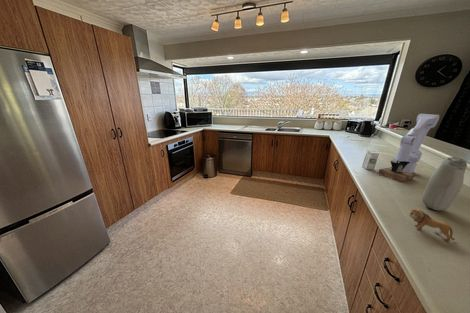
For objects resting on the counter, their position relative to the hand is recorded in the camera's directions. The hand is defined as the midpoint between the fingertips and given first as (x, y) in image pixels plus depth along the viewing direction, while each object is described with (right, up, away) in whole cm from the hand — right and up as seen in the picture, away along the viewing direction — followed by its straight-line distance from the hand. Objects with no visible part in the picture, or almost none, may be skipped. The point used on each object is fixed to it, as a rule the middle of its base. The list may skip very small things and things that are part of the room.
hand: (396, 170), depth 123 cm
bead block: (0, -4, +2) cm, 4 cm away
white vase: (-14, -17, -34) cm, 40 cm away
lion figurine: (-35, -22, -50) cm, 65 cm away
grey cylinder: (0, -4, +1) cm, 5 cm away
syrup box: (-10, 0, +14) cm, 17 cm away
